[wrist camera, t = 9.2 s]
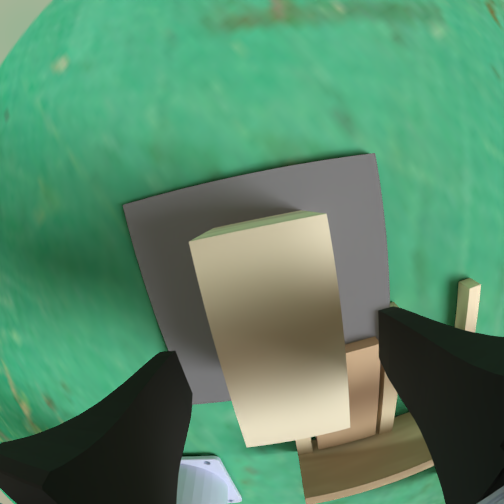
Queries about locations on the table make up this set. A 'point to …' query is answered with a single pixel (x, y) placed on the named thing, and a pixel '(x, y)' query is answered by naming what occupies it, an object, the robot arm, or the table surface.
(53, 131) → the table surface
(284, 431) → the block
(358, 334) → the mat
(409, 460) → the wooden book rack
